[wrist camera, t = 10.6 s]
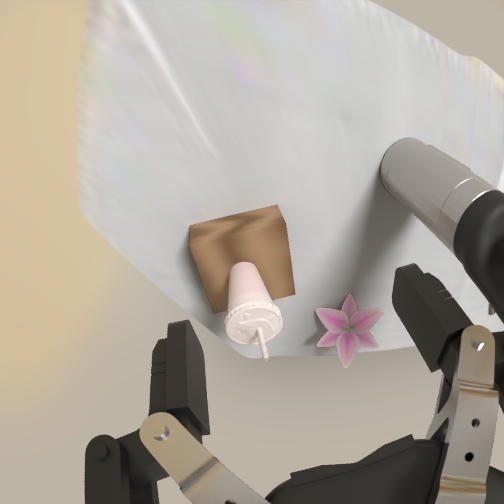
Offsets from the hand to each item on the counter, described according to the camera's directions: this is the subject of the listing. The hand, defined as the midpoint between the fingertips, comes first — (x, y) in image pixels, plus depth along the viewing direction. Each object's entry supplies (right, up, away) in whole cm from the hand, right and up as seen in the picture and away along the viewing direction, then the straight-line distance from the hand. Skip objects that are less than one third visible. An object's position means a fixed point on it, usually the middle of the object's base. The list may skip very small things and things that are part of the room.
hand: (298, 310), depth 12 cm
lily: (+15, -9, +46) cm, 49 cm away
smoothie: (-3, 0, +31) cm, 31 cm away
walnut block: (-3, +2, +35) cm, 35 cm away
